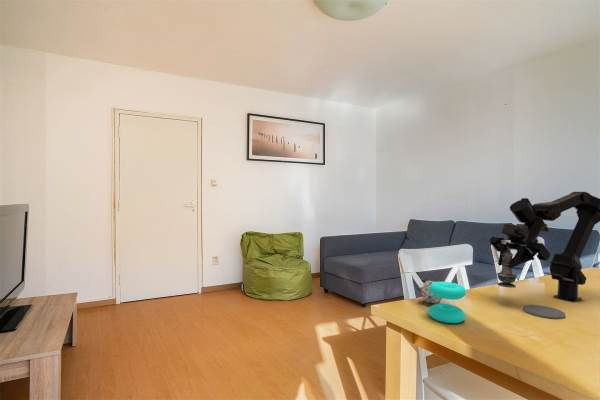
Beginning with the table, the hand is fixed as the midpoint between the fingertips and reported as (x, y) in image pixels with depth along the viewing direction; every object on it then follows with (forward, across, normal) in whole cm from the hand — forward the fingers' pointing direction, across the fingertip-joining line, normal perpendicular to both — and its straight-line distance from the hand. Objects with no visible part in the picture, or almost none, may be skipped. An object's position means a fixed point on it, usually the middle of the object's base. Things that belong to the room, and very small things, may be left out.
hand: (504, 266), depth 114 cm
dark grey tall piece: (+4, 0, +6) cm, 7 cm away
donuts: (+29, +5, -10) cm, 31 cm away
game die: (+25, -8, -7) cm, 27 cm away
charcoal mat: (+5, +9, +14) cm, 17 cm away
